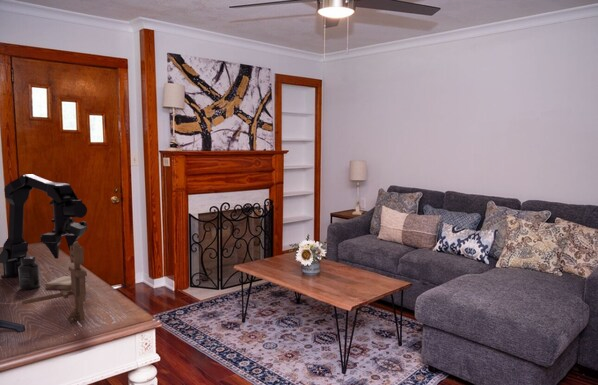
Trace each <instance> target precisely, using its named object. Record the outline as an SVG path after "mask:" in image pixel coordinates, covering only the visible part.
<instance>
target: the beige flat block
mask: <svg viewBox="0 0 598 385" xmlns="http://www.w3.org/2000/svg"><path fill="white" fill-rule="evenodd" d="M85 280H86V278H85ZM44 286H45V289H47V290H67V289H68V291H71V290H72V286H71V275H70V276H68V275H67V276H66V275H65V276H64V275H62V276H60V277H58V278H55V279H53V280H51V281H49V282H46V283H45V285H44Z"/></svg>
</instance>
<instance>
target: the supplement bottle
mask: <svg viewBox="0 0 598 385" xmlns="http://www.w3.org/2000/svg"><path fill="white" fill-rule="evenodd" d="M36 261H37V259H36V256H35V255H29V256H28V255H26V257H22V258H21V263H22V264H21V265H20V266H19V267H18V272H19V276H18V282H19V283H18V284H19V285H18V286H19V289H20V290H22V291H29V290H34V289H38V288H39V287H40V286H41V281H40V280H41V278H40V267H39V266H40V265H39V264H38V263H37V262H36Z"/></svg>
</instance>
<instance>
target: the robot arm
mask: <svg viewBox="0 0 598 385" xmlns="http://www.w3.org/2000/svg"><path fill="white" fill-rule="evenodd" d="M33 189H37V190H39V191H41V192H44V193H46V196H47V197H49V198H50V199H51V201H50V202H49V205H52V207H53V210H52V211H53V218H52V219H50V220H51V221H50V222H51V223H53V224H54V226H53V227H54V229H52V230H51V232H46V233H42V234H41V235H40V236H39V237H40V238H39V240H40V241H39V242H40V243H42V244H45V246H46V247H47V249H48V250H49V251H50V253H51V254H52V256H53V258H54V259H59V256H60V255H59V254H60V250H59V249H60V245H61V243H62V242H63V241H62V239H63V238H62V237H65V240H66V244H67V248H68V251H69V252H70V246H73V243H74V242H75V241H78V239H79V238H80V237H81V236H83V235H85V231H87V230H88V224H87V221H84V220H82V221H80V222H75V219H74V218H77V219H78V218H79V219H81V218H84V217H85V216H86V215H87V213H88V207H87V205H86V204H85V203H83V199H79V198H78V196H77V195H76V193H75V190H74V189H73V188H72V185H71V184H69V183H68V182H67V183H65V182H55V181H51V180H48V179H45V178H43V177H41V176H37V175H36V174H33V173H31V174H30V173H29V174H28V173H27V174H26V173H25V174H21V175H20V176H19V177H18V178H16V179H14V180H12V181H10V182H9V183H7V184H6V185H5V186H4V189H3V190H4V197H5V199H6V201H7V202H8V203H9V206H8V207H9V210H8V211H9V212H8V234H7V235H8V238H7V239H6V240H5V242H4V243H3V245H2V250H1V252H0V264H2V265H3V266H2V267H3V268H2V269H3V274H2V275H0V277H1V278H16V277H19V272H18V267H19V266H20V265H21V264H22V263H21V258H22V257H26V256H28V255H27V254H28V252H29V249H28V246H29V242H28V241H25V239H24V237H23V235H24V233H23V232H24V215H25V214H24V209H25V204H26V202H27V201H28V200H29V197H30V192H31V191H32V190H33Z"/></svg>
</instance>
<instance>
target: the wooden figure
mask: <svg viewBox="0 0 598 385" xmlns="http://www.w3.org/2000/svg"><path fill="white" fill-rule="evenodd" d="M69 256H70V258H69V259H70V263H71V264H73V265H69V266H68V271H69V272H70V277H71V286H72V289H71V290H68V291H66V289H60V290H59V293H58V292H57V293H52V294H48V295H43V296H38V297H31V298H26V299H23V300H21V305H22V306H24V305H28V304H33V303H39V302H42V301H43V302H44V301H49V300H53V299H58V298H63V299H64V300H66V299H69V296H74V309H73V310H72V311H71V313H70V314H69V315H68V316H67V317H66V319H67V320H69V323H70V324H74V323H77V324H78V325H79V327H81V328H82V327H83V326H82V325H83V324H81V321H84V320H85V311H84V303H85V302H86V294H87V292H86V281H85V279H86V277H87V276H88V274H87V271H86V270H85V269H84V268H83V267H82V266H81V265H83V264H84V263H85V257H84V247H83V246H81V245H80V244H79V241H78V240H77V241H75V242H74V243H73V246H70V251H69Z"/></svg>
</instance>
